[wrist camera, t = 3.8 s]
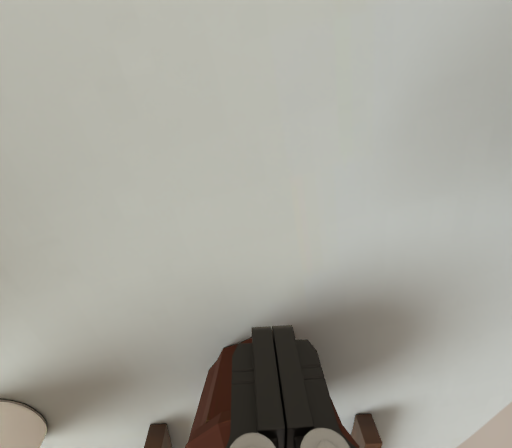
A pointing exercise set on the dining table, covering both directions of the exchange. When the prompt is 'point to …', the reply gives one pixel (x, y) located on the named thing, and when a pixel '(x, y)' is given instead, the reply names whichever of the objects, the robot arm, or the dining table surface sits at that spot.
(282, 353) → the robot arm
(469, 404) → the dining table surface
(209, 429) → the muffin
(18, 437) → the can
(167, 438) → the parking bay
